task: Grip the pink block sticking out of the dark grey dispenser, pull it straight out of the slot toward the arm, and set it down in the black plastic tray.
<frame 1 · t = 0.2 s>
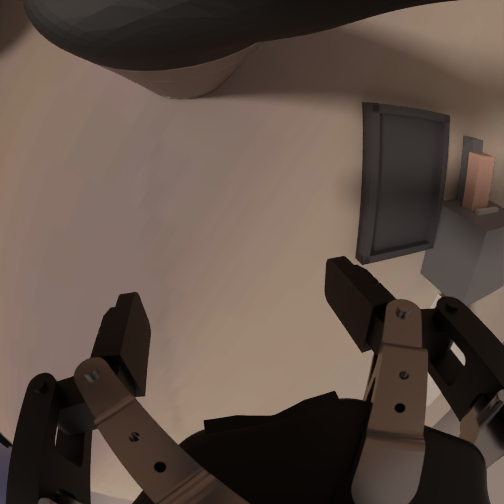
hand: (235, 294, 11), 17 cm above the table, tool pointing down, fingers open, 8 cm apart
white angular block: (421, 342, 50), on the table
pink block: (471, 197, 31), point 2 cm above the table, touching dispenser
tray: (403, 182, 30), on the table
dispenser: (455, 233, 36), on the table
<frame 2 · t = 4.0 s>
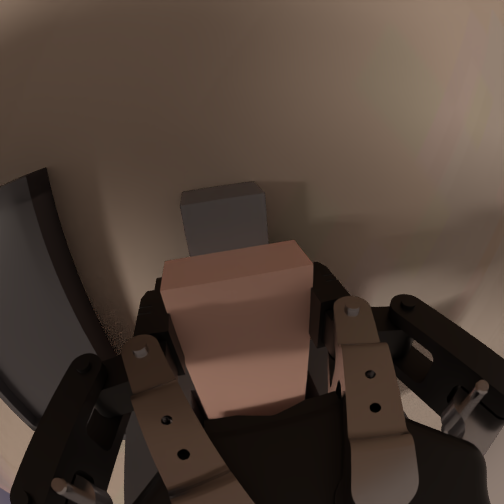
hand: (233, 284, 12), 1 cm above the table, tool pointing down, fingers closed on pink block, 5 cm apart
pink block: (247, 369, 14), point 2 cm above the table, touching dispenser, gripper
tray: (27, 341, 13), on the table
dispenser: (251, 404, 19), on the table
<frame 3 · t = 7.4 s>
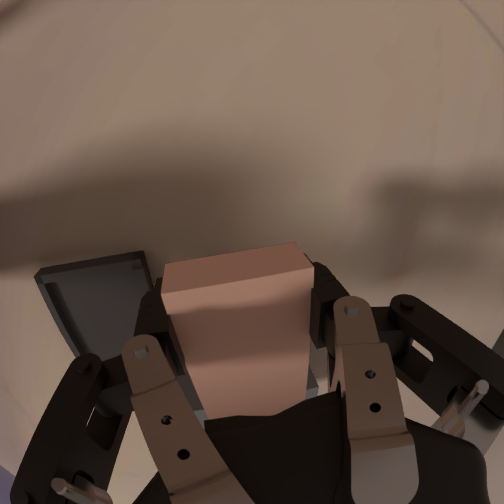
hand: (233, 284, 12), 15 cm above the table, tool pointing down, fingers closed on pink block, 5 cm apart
pink block: (248, 371, 14), point 15 cm above the table, touching gripper
tray: (114, 330, 29), on the table
dispenser: (238, 366, 35), on the table
when the fingers open (2 cm above the table, at t = 10.9 s): pink block drops 2 cm, resting on tray.
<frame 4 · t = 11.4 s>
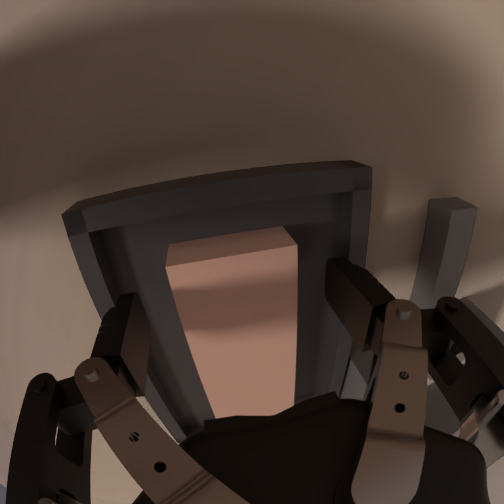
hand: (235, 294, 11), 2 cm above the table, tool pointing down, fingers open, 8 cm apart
pink block: (242, 348, 15), point 1 cm above the table, touching tray
tray: (239, 338, 16), on the table
dispenser: (398, 366, 22), on the table
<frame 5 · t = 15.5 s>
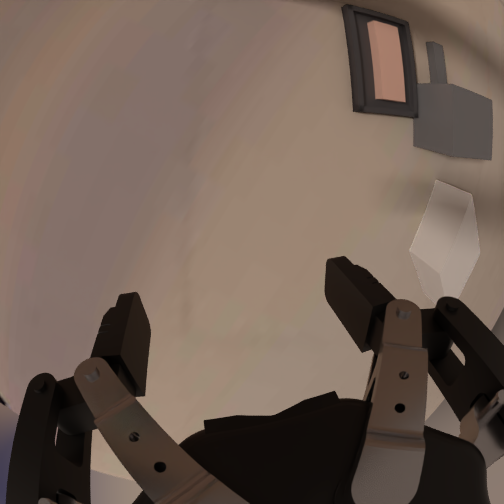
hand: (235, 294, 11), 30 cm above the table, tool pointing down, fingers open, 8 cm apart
white angular block: (430, 241, 53), on the table
pink block: (384, 61, 33), point 1 cm above the table, touching tray
tray: (381, 61, 34), on the table
dispenser: (437, 118, 40), on the table
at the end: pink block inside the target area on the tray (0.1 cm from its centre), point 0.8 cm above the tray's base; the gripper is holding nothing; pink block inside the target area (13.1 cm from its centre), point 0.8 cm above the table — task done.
